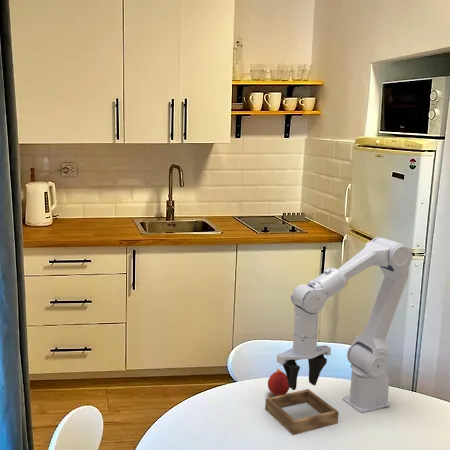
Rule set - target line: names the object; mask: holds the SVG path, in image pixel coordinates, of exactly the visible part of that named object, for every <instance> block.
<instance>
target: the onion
mask: <svg viewBox="0 0 450 450" xmlns="http://www.w3.org/2000/svg"><path fill="white" fill-rule="evenodd" d="M267 388H268V390H269V391H270V393H272V395H274V397H275V396H279V395H284V394H288V393H289V390H290V389H291V388H290V387H289V384H288V379H287V375H286V372H284V371H282V370H281V368H277V369H276V371H275V372H273V373H272V374H271V375H270V376H269V378H268V380H267Z"/></svg>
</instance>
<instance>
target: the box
mask: <svg viewBox="0 0 450 450" xmlns="http://www.w3.org/2000/svg"><path fill="white" fill-rule="evenodd" d="M304 403H307V404H308V405H310V406H311V407H313V408H314V409H315V410H316V411H318V412H319V413H318V414H315V415H310V416H306V417H302V418H299V419H295V418H293V417H292V415H290V414H289V413H287V411H285V410H284V409H283V408H286V407H291V406H295V405H300V404H304ZM264 407H265V409H264V410H266V412H267V413H268V414H270V415H271V416H272V417H273V418H274V419H275V420H276V421H278V422H279V424H280V425H282V426H283V427H284V428H285V429H286V430H287V431H288V432H289V433H291V435H292V436H293V435H297V434H301V433H305V432H308V431H313V430H317V429H321V428H325V427H328V426H332V425H335V424H338V423H339V415H340V414H339V411H338V410H337V409H336V408H334V407H333V406H331V405H330V404H329V403H327V402H326V401H325V400H323V398H321V397H319V395H317V394H315V393H314V392H313V391H312V390H311V389H309V388H308V389H302V390H297V391H294V392H287V393H286V394H284V395H279V396H275V395H274V396H272V397H267V398H265V406H264Z"/></svg>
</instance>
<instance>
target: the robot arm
mask: <svg viewBox="0 0 450 450" xmlns="http://www.w3.org/2000/svg"><path fill="white" fill-rule="evenodd" d="M413 257H414V256H413V254H412V251H411V250H410V248H409V246H408V245H407V244H405V243H401V242H397V241H394V240H391V239H388V238H386V237H384V236H375V237H374V238H373V239H372V240H370V241H368V242H366V243H365V246H364V248H363V249H361V250H360V251H359V252H358V253H356V254H355V255H354V256H353V257H351V258H350V259H349V260H348V261H346V262H345V263H343V265H341V266H339V268H334V267H330V268H327V267H326V268H325V269H324V270H323V273H321V274H320V275H318V276H317V277H315V278H314V279H311V280H309V281H308V283H307V284H306V283H305V284H304V283H301V284H300V285H297V286H296V287H295V288H294V290H293V291H292V294H291V295H290V301H291V303H292V304H293V306H294V307H293V309H294V317H293V318H294V319H293V340H292V348H290V349H288V350H286V351H283V352H281V353H277V354H276V362H277V363H278V365H279V364H280V366H281V365H282V366H283V369H284V371H285V372H284V373H285V374H286V375H287V379H288V384H289V387H290V388H289V389H291V390H293V391H295V390H297V384H298V382H297V380H298V375H299V371H300V369H301V366H300V365H298V364H297V361H300V360H308V382H309V383H310V385H312V386H316V385H317V382H318V380H319V376H320V374H321V372H322V370H323V369H324V367H325V366H326V365H327V363H328V359H327V358H326V357H325V356H327V357H328V356H331V354H332V353H331V351H332V347H330V346H328V345H326V344H325V345H317V344H318V332H319V331H318V330H319V328H318V327H319V312H320V311H321V310H322V309H323V308H324V305H325V304H326V302H327V301H328V299H330V298H331V297H333V296H335V295H336V294H337V293H339V292H341V290H343V289H344V288H345V287H346V284H347V281H348V280H349V279H351V278H353V277H354V276H357V275H358V274H360V273H362V272H363V271H365V270H367V269H368V268H370V267H372V266H376V267H379V269H380V270H381V272H382V275H383V276H384V277H383V280H382V282H381V285H380V288H379V290H378V292H377V297H376V299H375V302H374V305H373V307H372V310H371V313H370V315H369V318H368V320H367V323H366V325H365V326H366V327H365V329H364V332H362V333H360V334H358V335H356V336H355V338H354V340H353V342H352V344H351V345H350V346H349V348H348V349H347V353H346V357H347V361H348V362H349V363H350V368H351V375H350V376H351V380H350V391H349V395H348V396H345V397H342V400H343V402H345V403H347V404H348V405H350V406H351V407H352V408H353V409H355V410H356V411H358V412H359V413H362V414H363V413H367V412H372V411H375V410H378V409H382V408H383V409H384V408H387V407H389V406H390V403H389V402H388V398H389V387H390V378H389V376H388V374H387V368H388V364H389V362H388V359H389V354H390V351H389V348H388V346H387V345H388V344H386V339H387V335H388V333H389V330H390V327H391V324H392V321H393V319H394V316H395V315H396V311H397V308H398V306H399V302H400V300H401V297H402V295H403V292H404V289H405V286H406V284H407V280H408V277H409V271H410V270H409V269H410V265H411V262H412V260H413Z"/></svg>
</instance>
